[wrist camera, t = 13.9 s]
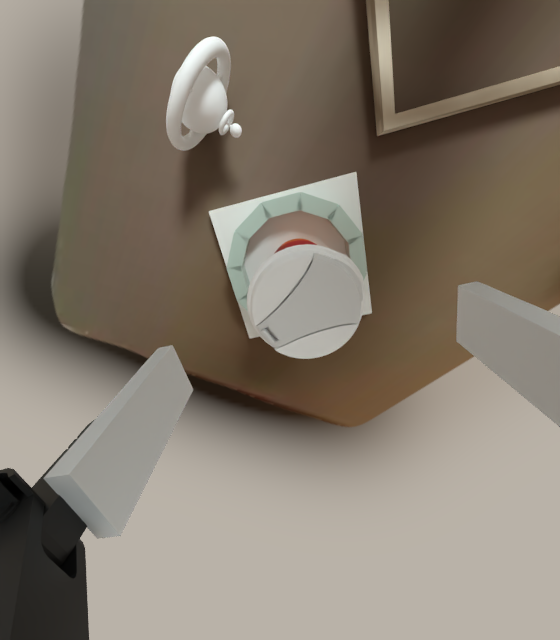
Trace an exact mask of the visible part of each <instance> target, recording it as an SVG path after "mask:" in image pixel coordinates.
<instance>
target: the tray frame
mask: <svg viewBox="0 0 560 640" xmlns="http://www.w3.org/2000/svg"><path fill="white" fill-rule="evenodd" d="M366 8H367V20H368V33H369V45H370V57H371V70H372V82H373V94H374V107H375V119H376V131H377V136H380V135H383V134H387V133H391V132H394V131H398V130H401V129H405V128H408V127H412V126H415V125H419V124H423V123H426V122H430V121H433V120H437V119H440V118H444V117H447V116H451V115H454V114H458V113H462V112H465V111H469V110H472V109H476V108H479V107H483V106H486V105H490V104H493V103H497V102H501V101H504V100H508V99H511V98H515V97H518V96H522V95H525V94H529V93H532V92H536V91H540V90H543V89H547V88H550V87H554V86H557V85H560V66H559V67H556V68H552V69H549V70H545V71H542V72H538V73H535V74H531V75H528V76H524V77H521V78H518V79H514V80H511V81H507V82H504V83H500V84H497V85H493V86H490V87H486V88H483V89H479V90H476V91H473V92H469V93H466V94H462V95H459V96H455V97H452V98H448V99H445V100H441V101H438V102H435V103H431V104H428V105H424V106H421V107H417V108H414V109H410V110H407V111H403V112H400V113H397V114H395V105H394V88H393V70H392V53H391V35H390V18H389V0H366Z"/></svg>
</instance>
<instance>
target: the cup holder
mask: <svg viewBox="0 0 560 640" xmlns="http://www.w3.org/2000/svg"><path fill="white" fill-rule="evenodd" d="M209 214H210V217H211V221H212V224H213V227H214V230H215V233H216V236H217V239H218V242H219V245H220V248H221V252H222V255H223V258H224V261H225V264H226V267H227V271H228V274H229V278H230V281H231V284H232V287H233V290H234V293H235V296H236V299H237V301H238V304H239V307H240V310H241V314H242V317H243V320H244V323H245V326H246V329H247V332H248V335H249V338H255V337H260V336H259V335H258V333H257V332H256V330H255V329H254V327H253V325H252V323H251V321H250V318H249V315H248V310H247V293H248V288H249V285H250V282H251V280H252V278H253V276H254V274H255V272H256V271H257V269H258V268H259V267H260V266H261V265H262V263H263V262H264V261H266V260H267V259H268V258H269V257H270V256H272V255H273V254H274V253H275V252H276V250H277V249H278V248H279V247H280V246H281V245H282V244H284V243H285V242H287V241H289V240H292V239H298V238H300V239H306V240H309V241H311V242H313V243H315V244H317V245H319V246H323V247H327V248H330V249H332V250H334V251H337V252H339V253H342V254H344V255H347V256H348V257H349V258H350V259H351V260H352V261H353V262H354V263H355V265H356V266H357V267H358V269H359V270H360V272H361V274H362V276H363V282H364V292H365V306H364V310H363V314H362V315H366V314H371V313H372V308H371V299H370V290H369V281H368V273H367V264H366V255H365V246H364V237H363V228H362V219H361V210H360V201H359V192H358V183H357V174H356V172H353V173H349V174H346V175H342V176H338V177H334V178H331V179H327V180H323V181H320V182H316V183H312V184H309V185H305V186H301V187H297V188H294V189H290V190H286V191H283V192H279V193H275V194H271V195H268V196H264V197H260V198H257V199H253V200H249V201H245V202H242V203H238V204H234V205H231V206H227V207H223V208H219V209H216V210H212V211H209Z"/></svg>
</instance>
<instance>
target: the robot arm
mask: <svg viewBox="0 0 560 640" xmlns="http://www.w3.org/2000/svg"><path fill="white" fill-rule="evenodd" d="M456 341H457V342H458V343H459V344H460V345H462V346H463V347H464V348H465V349H466V350H468V351H469V352H470V353H471V354H472V355H474V356H475V357H476V358H477V359H479V360H480V361H481V362H482V363H483V364H485V365H486V366H487V367H488V368H489V369H491V370H492V371H493V372H494V373H495V374H497V375H498V376H499V377H500V378H501V379H503V380H504V381H505V382H506V383H507V384H509V385H510V386H511V387H512V388H514V389H515V390H516V391H517V392H519V394H521V395H522V396H523V397H524V398H525V399H527V400H528V401H529V402H530V403H532V404H533V405H534V406H535V407H537V408H538V409H539V410H540V411H541V412H542V413H544V414H545V415H546V416H547V417H548V418H550V419H551V420H552V421H553V422H554V423H556V424H557V425H558V426H559V427H560V316H558V315H555V314H553V313H551V312H548V311H546V310H544V309H541V308H539V307H537V306H534V305H532V304H529V303H527V302H525V301H522V300H520V299H518V298H515V297H513V296H511V295H508V294H506V293H503V292H501V291H499V290H496V289H494V288H492V287H489V286H487V285H485V284H482V283H480V282H478V281H477V282H472V283H467V284H463V285H458V307H457V338H456ZM192 391H193V388H192V386H191V384H190V382H189V379H188V377H187V375H186V373H185V371H184V369H183V366H182V364H181V362H180V360H179V358H178V356H177V353H176V351H175V349H174V347H173V345H170V346H166V347H161V348H158V349H157V350H156V351H155V352H154V353H153V354H152V356H151V357H150V358H149V359H148V360H147V361H146V362H145V364H144V365H143V366H142V367H141V368H140V369H139V370H138V371H137V373H136V374H135V375H134V376H133V377H132V378H131V379H130V381H129V382H128V383H127V384H126V385H125V386H124V387H123V389H122V390H121V391H120V392H119V393H118V394H117V395H116V396H115V398H114V399H113V400H112V401H111V402H110V403H109V404H108V405H107V407H106V408H105V409H104V410H103V411H102V412H101V413H100V415H99V416H98V417H97V418H96V419H95V420H93V421H92V422H91V423H90V424H89V425H87V427H86V428H85V429H84V430H83V431H82V432H81V433H80V435H79V436H78V438H77V439H75V440H74V441H73V442H72V443H71V444H70V446H69V447H68V449H67V450H65V451H64V452H63V453H62V455H61V456H60V457H59V458H58V459H57V460H56V461H55V462H54V464H53V465H52V466H51V467H50V468H49V469H48V470H47V471H46V473H45V474H44V475H43V476H42V477H41V478H40V479H39V480H38V482H37V483H36V484H35V485H34V486H33V487H32V488H31V487H30V486H29V485H28V484H27V483H26V482H25V481H24V480H23V479H22V478H21V477H20V476H19V474H18V473H17V472H16V471H15V470H14V469H10V468H7V469H3V470H0V640H89V630H88V606H87V585H86V584H87V583H86V560H85V547H84V544H83V542H82V541H81V540H80V537H81V535H82V534H83V532H84V531H85V529H86V527H88V529H89V530H90V531H91V532H92V533H93V534H94V535H95V536H96V537H97V538H105V537H114V536H121V533H122V531H123V530H124V528H125V526H126V523H127V522H128V520H129V518H130V516H131V514H132V512H133V510H134V507H135V505H136V504H137V502H138V500H139V498H140V496H141V494H142V491H143V490H144V488H145V485H146V484H147V482H148V480H149V477H150V475H151V474H152V472H153V469H154V468H155V465H156V464H157V461H158V459H159V458H160V456H161V454H162V451H163V450H164V448H165V446H166V444H167V441H168V439H169V438H170V436H171V434H172V432H173V430H174V427H175V425H176V423H177V422H178V420H179V417H180V415H181V413H182V412H183V409H184V407H185V406H186V403H187V401H188V399H189V397H190V395H191V393H192Z"/></svg>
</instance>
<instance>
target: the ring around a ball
mask: <svg viewBox="0 0 560 640" xmlns="http://www.w3.org/2000/svg"><path fill="white" fill-rule="evenodd" d="M214 58H217V66H218V67H217V75H216V74H215V73H214V72H213V71H212V70H211V69H210V68H208V67H207V66H206V65H207V64H208V63H209V62H210V61H211V60H213V59H214ZM230 72H231V59H230V53H229V50H228V48H227V46H226V44H225V43H224V42H223V41H222V40H221V39H220V38H217V37H208V38H206V39H204V40H202V41H201V42H200V43H198V44H197V45H196V46H195V47H194V48H193V49H192V51H191V52H190V53H189V55H188V56H187V58H186V59H185V61H184V63H183V64H182V66H181V68H180V69H179V70H178V72H177V74H176V76H175V78H174V80H173V83H172V87H171V94H170V98H169V102H168V107H167V114H166V129H167V134H168V137H169V140H170V142H171V143H172V145H173V146H174V147H175V148H177V149H178V150H182V151H185V150H189V149H192V148H193V147H195V146H196V145H197V144H198V143H199V142H200V141H201V140H202V139H203V138H204V137H205V135H206V134H207V133H211V132H214V131H215V130H217V129H218V128H219V133H220V134H221V135H224V134H226V133H227V131H228V130H229V128H230V133H231V135H232V136H233V137H236V138H237V137H239V136H240V135H241V133H242V129H241V127H240V125H238V124H236V123H235V124H232V122H233V119H234V112H233V110H231V109H230V110H228V111H227V96H226V92H227V88H228V84H229V79H230ZM227 120H228V121H227ZM181 123H183V124H184V125H185V126H186V127H187V128H189V129H190V132H189V133H188V134H187V135H185V136H182V134H181ZM225 124H226V125H225ZM231 124H232V125H231Z"/></svg>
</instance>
